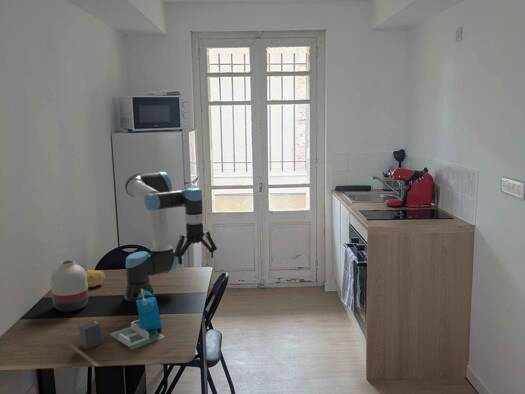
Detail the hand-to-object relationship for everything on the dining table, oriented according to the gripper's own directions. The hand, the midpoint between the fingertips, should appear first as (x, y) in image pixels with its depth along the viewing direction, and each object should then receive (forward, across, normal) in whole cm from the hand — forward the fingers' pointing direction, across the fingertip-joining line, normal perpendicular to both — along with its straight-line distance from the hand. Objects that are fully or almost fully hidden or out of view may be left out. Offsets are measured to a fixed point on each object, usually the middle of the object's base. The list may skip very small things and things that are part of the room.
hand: (196, 268), depth 234 cm
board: (+26, -30, -2) cm, 39 cm away
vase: (+26, -46, +50) cm, 73 cm away
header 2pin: (+24, -26, +4) cm, 36 cm away
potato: (+26, -30, +75) cm, 85 cm away
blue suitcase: (+26, -23, +1) cm, 34 cm away
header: (+24, -32, -5) cm, 40 cm away
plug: (+26, -48, 0) cm, 55 cm away
